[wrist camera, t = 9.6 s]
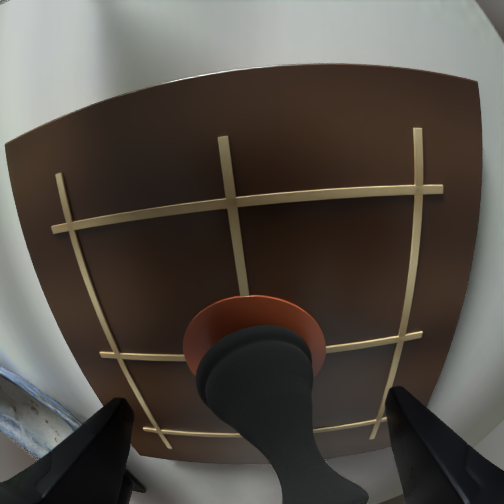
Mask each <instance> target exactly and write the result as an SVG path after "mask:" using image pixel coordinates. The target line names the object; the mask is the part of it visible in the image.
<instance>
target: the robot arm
mask: <svg viewBox="0 0 504 504" xmlns="http://www.w3.org/2000/svg"><path fill="white" fill-rule="evenodd" d="M385 412H386V418H387V424H388V430H389V436H390V442H391V447H392V451H393V455H394V458H395V462H396V466H397V469H398V473H399V477H400V481H401V485H402V489H403V493H404V497H405V501H406V504H504V471H503V470H502V469H500V468H498V467H497V466H495V465H494V464H492V463H491V462H490V461H488V460H487V459H485V458H484V457H483V456H482V455H481V454H479V453H478V452H477V451H476V450H475V449H473V448H472V447H471V446H470V445H467V443H466V442H465V441H464V440H463V439H462V438H461V437H460V436H458V435H457V434H456V433H455V432H454V431H453V430H452V429H451V428H449V427H448V426H447V425H446V424H445V423H444V422H443V421H441V420H440V419H439V418H438V417H437V416H436V415H435V414H434V413H432V412H431V411H430V410H429V409H428V408H427V407H426V406H424V405H423V404H422V403H421V402H420V401H419V400H418V399H416V398H415V397H414V396H413V395H412V394H411V393H410V392H409V391H407V390H406V389H405V388H404V387H403V386H400V385H399V386H394V387H391V388H390V389H389V390H388V394H387V397H386V400H385ZM134 417H135V416H134V411H133V409H132V408H131V406H130V405H129V403H128V401H127V400H126V399H125V398H121V397H115V398H113V399H112V400H111V401H109V402H108V403H107V404H106V405H105V406H103V407H102V408H101V409H100V410H99V411H98V412H96V413H95V414H94V415H93V416H92V417H90V418H89V419H88V420H87V421H86V422H84V423H83V424H82V425H81V426H80V427H78V428H77V429H76V430H75V431H74V432H72V433H71V434H70V435H69V436H68V437H66V438H65V439H64V440H63V441H62V442H60V443H59V444H58V445H57V446H56V447H54V448H53V449H52V451H49V452H48V453H47V454H46V455H44V456H43V457H42V458H41V459H39V460H38V461H37V462H35V463H34V464H32V465H31V466H30V467H28V468H26V469H25V470H23V471H22V472H20V473H18V474H17V475H15V476H14V477H12V478H10V479H9V480H7V481H4V482H0V504H129V502H130V498H131V495H132V491H137V492H141V493H146V489H145V488H144V487H143V486H142V485H141V484H140V483H139V482H138V481H137V480H136V479H135V478H134V477H133V476H132V475H131V474H130V473H129V472H128V471H127V470H126V469H125V467H126V463H127V459H128V455H129V451H130V444H131V437H132V430H133V424H134Z"/></svg>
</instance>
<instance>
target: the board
mask: <svg viewBox="0 0 504 504" xmlns="http://www.w3.org/2000/svg"><path fill="white" fill-rule="evenodd" d="M5 152H6V158H7V165H8V171H9V176H10V182H11V187H12V191H13V196H14V200H15V205H16V209H17V213H18V217H19V220H20V224H21V228H22V231H23V235H24V238H25V241H26V245H27V248H28V251H29V254H30V257H31V260H32V263H33V266H34V269H35V271H36V274H37V277H38V279H39V282H40V285H41V287H42V290H43V292H44V295H45V297H46V299H47V302H48V304H49V307H50V309H51V311H52V313H53V316H54V318H55V320H56V322H57V324H58V326H59V328H60V331H61V333H62V335H63V337H64V339H65V341H66V343H67V345H68V346H69V348H70V350H71V352H72V354H73V356H74V358H75V360H76V361H77V363H78V365H79V367H80V369H81V370H82V372H83V374H84V375H85V377H86V379H87V381H88V382H89V384H90V386H91V387H92V389H93V390H94V392H95V394H96V395H97V397H98V398H99V400H100V401H101V403H102V404H103V406H105V405H106V404H107V403H108V402H109V401H111V400H112V399H113V398H115V397H121V398H125V399H126V400H127V401H128V403H129V405H130V406H131V408H132V409H133V411H134V416H135V417H134V424H133V430H132V437H131V445H132V446H133V447H134V448H135V450H136V451H137V452H138V453H139V455H141V456H147V457H154V458H161V459H168V460H177V461H187V462H199V463H215V464H270V462H269V461H268V460H267V458H266V457H265V456H264V455H263V454H262V453H261V452H260V451H259V450H258V449H257V448H256V447H255V446H253V445H252V444H251V443H249V442H248V441H247V440H246V439H244V438H243V437H242V436H241V435H240V434H239V433H238V432H237V431H236V430H235V429H234V428H233V427H231V426H229V425H228V424H226V423H225V422H223V421H222V420H220V419H219V418H218V417H217V416H216V415H215V414H214V413H213V412H212V410H211V409H210V408H209V407H207V406H206V405H205V404H204V403H203V401H202V400H201V398H200V396H199V394H198V392H197V388H196V381H195V377H196V371H197V368H198V365H199V363H200V361H201V359H202V358H203V356H204V355H205V353H206V352H207V351H208V350H209V349H210V348H211V347H212V346H213V345H214V344H215V343H217V342H218V341H219V340H221V339H222V338H224V337H226V336H227V335H229V334H231V333H233V332H236V331H238V330H241V329H243V328H247V327H252V326H257V325H276V326H281V327H285V328H288V329H290V330H292V331H294V332H296V333H297V334H298V335H300V336H301V337H302V338H303V339H304V341H305V342H306V343H307V345H308V347H309V349H310V352H311V355H312V368H313V375H314V380H313V388H312V394H311V396H312V403H313V413H312V424H313V434H314V438H315V441H316V444H317V447H318V449H319V452H320V454H321V456H322V457H323V459H329V458H336V457H343V456H349V455H354V454H360V453H365V452H370V451H375V450H379V449H384V448H388V447H391V442H390V436H389V430H388V424H387V418H386V412H385V400H386V397H387V394H388V390H389V389H390V388H391V387H394V386H399V385H400V386H403V387H404V388H405V389H406V390H407V391H409V392H410V393H411V394H412V395H413V396H414V397H415V398H416V399H418V400H419V401H420V402H421V403H422V404H423V405H424V406H427V404H428V402H429V399H430V397H431V395H432V392H433V390H434V388H435V385H436V383H437V381H438V378H439V376H440V373H441V371H442V368H443V365H444V363H445V360H446V357H447V354H448V352H449V349H450V346H451V343H452V340H453V337H454V334H455V330H456V327H457V324H458V320H459V317H460V313H461V310H462V306H463V302H464V298H465V294H466V290H467V285H468V281H469V276H470V272H471V267H472V261H473V256H474V250H475V244H476V237H477V230H478V221H479V212H480V201H481V187H482V122H481V108H480V97H479V88H478V82H477V81H474V80H470V79H466V78H462V77H457V76H452V75H447V74H442V73H436V72H430V71H424V70H417V69H410V68H402V67H392V66H381V65H367V64H342V63H313V64H288V65H273V66H262V67H252V68H244V69H236V70H229V71H222V72H215V73H210V74H204V75H198V76H193V77H188V78H183V79H179V80H174V81H170V82H166V83H161V84H157V85H153V86H150V87H146V88H142V89H139V90H135V91H132V92H128V93H125V94H122V95H119V96H115V97H112V98H109V99H106V100H103V101H100V102H98V103H95V104H92V105H89V106H87V107H84V108H81V109H79V110H76V111H74V112H71V113H69V114H66V115H64V116H61V117H59V118H57V119H54V120H52V121H50V122H48V123H45V124H43V125H41V126H39V127H37V128H35V129H33V130H31V131H28V132H26V133H24V134H23V135H21V136H19V137H17V138H15V139H13V140H11V141H9V142H7V143H6V144H5Z"/></svg>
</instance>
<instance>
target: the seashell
mask: <svg viewBox="0 0 504 504" xmlns="http://www.w3.org/2000/svg"><path fill="white" fill-rule="evenodd" d="M81 425H82V424H81V423H80V422H79V421H78V420H77V419H76V418H75V417H73V416H72V415H71V414H70V413H69V412H68V411H67V410H66V409H65V408H64V407H63V406H61V405H60V404H59V403H57V402H56V401H55V400H53V399H52V398H50V397H49V396H47V395H46V394H44V393H43V392H41V391H40V390H39V389H38V388H36V387H35V386H34V385H33V384H31V383H29V382H28V381H26V380H25V379H23V378H22V377H20V376H18V375H17V374H15V373H13V372H11V371H9V370H7V369H6V368H4V367H2V366H0V432H2V433H4V434H5V435H7V436H9V437H10V438H12V439H14V440H15V441H17V442H18V443H19V444H21V445H22V446H23V447H24V448H25V449H27V450H28V451H30V452H31V453H32V454H34V455H35V456H37V457H38V458H39V459H41V458H42V457H43V456H44V455H46V454H47V453H48V452H49V451H52V449H53V448H54V447H56V446H57V445H58V444H59V443H60V442H62V441H63V440H64V439H65V438H66V437H68V436H69V435H70V434H71V433H72V432H74V431H75V430H76V429H77V428H78V427H80V426H81Z"/></svg>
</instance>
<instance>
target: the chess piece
mask: <svg viewBox="0 0 504 504" xmlns="http://www.w3.org/2000/svg"><path fill="white" fill-rule="evenodd" d="M313 380H314V375H313V368H312V355H311V352H310V349H309V347H308V345H307V343H306V342H305V341H304V339H303V338H302V337H301V336H300V335H298V334H297V333H296V332H294V331H292V330H290V329H288V328H285V327H281V326H276V325H257V326H252V327H247V328H243V329H241V330H238V331H236V332H233V333H231V334H229V335H227V336H226V337H224V338H222V339H221V340H219V341H218V342H217V343H215V344H214V345H213V346H212V347H211V348H210V349H209V350H208V351H207V352H206V353H205V355H204V356H203V358H202V359H201V361H200V363H199V365H198V368H197V371H196V377H195V381H196V388H197V392H198V394H199V396H200V398H201V400H202V401H203V403H204V404H205V405H206V406H207V407H209V408H210V409H211V410H212V412H213V413H214V414H215V415H216V416H217V417H218V418H219V419H220V420H222V421H223V422H225V423H226V424H228V425H229V426H231V427H233V428H234V429H235V430H236V431H237V432H238V433H239V434H240V435H241V436H242V437H243V438H244V439H246V440H247V441H248V442H249V443H251V444H252V445H253V446H255V447H256V448H257V449H258V450H259V451H260V452H261V453H262V454H263V455H264V456H265V457H266V458H267V460H268V461H269V462H270V464H271V465H272V467H273V468H274V470H275V472H276V474H277V476H278V478H279V481H280V484H281V487H282V494H283V503H282V504H366V503H367V501H368V499H369V496H368V493H367V492H366V491H365V490H364V489H363V488H361V487H360V486H358V485H357V484H355V483H353V482H351V481H349V480H348V479H346V478H344V477H342V476H341V475H339V474H338V473H336V472H335V471H334V470H333V469H332V468H331V467H330V466H329V465H328V464H327V463H326V462H325V460H324V459H323V457H322V456H321V454H320V452H319V449H318V447H317V444H316V441H315V438H314V434H313V424H312V413H313V403H312V396H311V394H312V388H313Z"/></svg>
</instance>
